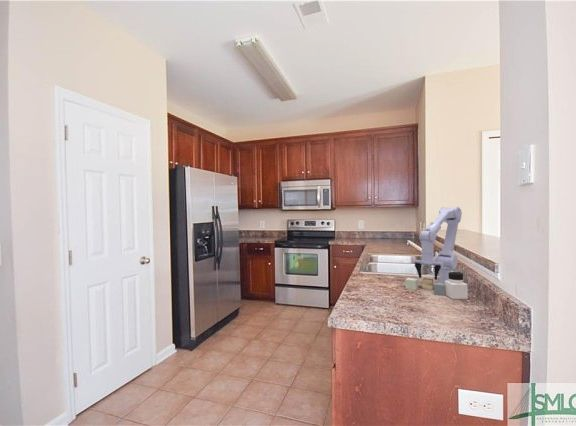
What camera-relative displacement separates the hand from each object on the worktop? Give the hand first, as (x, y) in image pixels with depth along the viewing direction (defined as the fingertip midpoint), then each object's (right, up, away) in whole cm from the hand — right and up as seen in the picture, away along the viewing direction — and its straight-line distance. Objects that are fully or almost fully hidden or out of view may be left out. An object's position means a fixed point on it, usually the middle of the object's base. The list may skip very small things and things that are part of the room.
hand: (427, 278), depth 150 cm
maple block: (0, -5, 0) cm, 5 cm away
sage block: (-8, -6, +1) cm, 10 cm away
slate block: (0, -5, -10) cm, 12 cm away
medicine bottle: (+6, -5, -16) cm, 18 cm away
